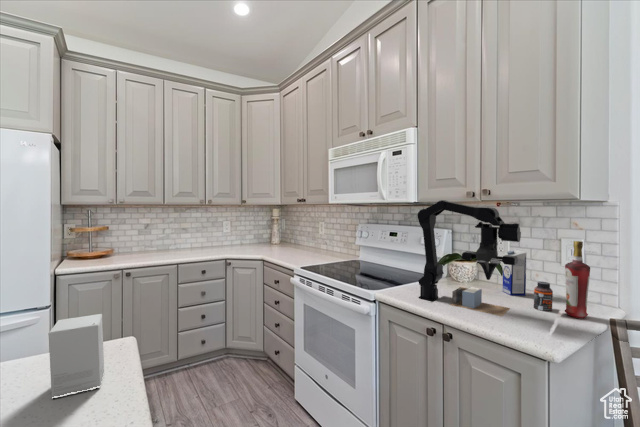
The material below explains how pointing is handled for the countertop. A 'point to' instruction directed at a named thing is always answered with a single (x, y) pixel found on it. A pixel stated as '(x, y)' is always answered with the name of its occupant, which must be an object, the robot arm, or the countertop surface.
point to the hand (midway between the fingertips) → (488, 279)
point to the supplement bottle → (543, 297)
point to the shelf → (482, 307)
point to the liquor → (577, 284)
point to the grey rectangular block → (472, 297)
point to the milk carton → (515, 275)
